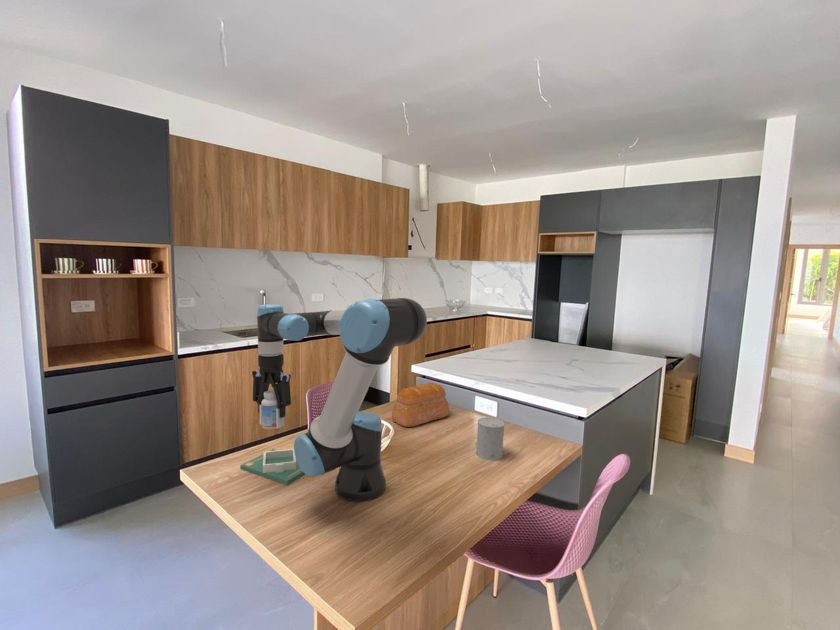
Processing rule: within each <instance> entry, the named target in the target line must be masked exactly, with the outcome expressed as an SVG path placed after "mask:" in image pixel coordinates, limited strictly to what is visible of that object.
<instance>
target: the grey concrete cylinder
mask: <svg viewBox="0 0 840 630" xmlns="http://www.w3.org/2000/svg"><path fill="white" fill-rule="evenodd" d="M504 434H505V422H504V421H503V420H501V419H500V418H499V419H498V418H496V417H481V418H479V419H478V420H477V433H476V435H477V436H476V450H475V451H476V452H475V454H477V455H476V456H477V457H478V456H479V457H478V458H480V459H482V458H483V459H482V460H485V459H486V461H491V460H494V461H499V460H501V459H502V458H503V449H504Z"/></svg>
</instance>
